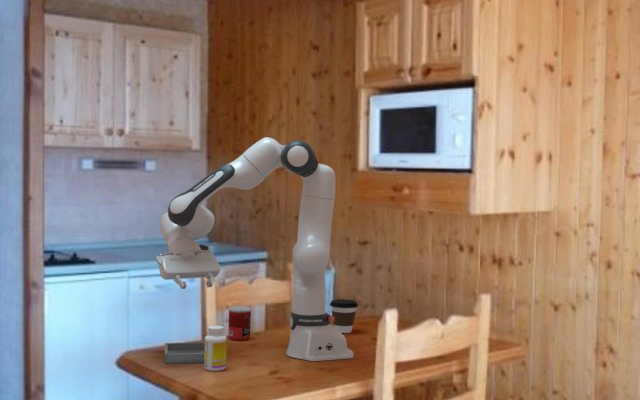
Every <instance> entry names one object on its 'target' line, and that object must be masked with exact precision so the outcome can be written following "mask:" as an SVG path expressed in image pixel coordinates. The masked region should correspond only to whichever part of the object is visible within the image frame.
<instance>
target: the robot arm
mask: <svg viewBox="0 0 640 400" xmlns="http://www.w3.org/2000/svg"><path fill="white" fill-rule="evenodd" d="M278 168H282V169H285V170H286V171H287V172H289V173H291V174H294V175H298V176H300V178H301V179H302V191H301V198H300V207H299V213H298V223H297V224H298V227H297V229H298V230H297V241H296V243H295V244H294V246H293V248H292V306H291V307H292V309H291V312H290V323H289V324H290V326H289V327H290V336H289V342H288V346H287V350H286V351H285V354H286V356H289V357H291V358H293V359H294V358H296V359H299V360H306V361H310V362H318V361H319V362H320V361H332V360H345V359H353V358H354V356H355V355H354V354H355V353H354V351H353V350H352V349H350V348H348V343H347V338H346V337H345V334H342V333H341V332H339V331H338V330H337V329H336V328H335V327H334V325H333V324H331V323H333V322H334V317H333V316H332V314H328V313H327V312H326V303H327V301H326V298H327V296H326V295H327V287H326V267H327V266H328V264H329V263H330V253H331V252H330V251H331V238H332V221H333V214H334V208H335V207H334V206H335V205H334V204H335V198H336V197H335V196H336V173H335V170H334V169H333V168H332V167H331V166H329V165H328V164H327V165H326V164H323V163H319V161H318V158H317V156H316V153H315V150H314V149H313V147H312V146H311V145H310V144H309V143H308V142H307V141H304V140H298V139H295V140H291V141H289V142H288V143H287V144H285V145H283V144H281V143H280V142H278V141H277V140H276V139H274V138H272V137H267V136H266V137H263V138H261V139H259V140H258V141H257V142H255V143H253V144H252V145H251V146H249V148H247V149H246V150H245V151H243V153H241V155H240V156H239V157H237V158H236V159H234V160H233V161H231V162H229V163H227V164H222V165H221V166H219V167H217V168H215V169H213V171H211V172H210V173H209V174H208V175H206V176H205V177H203V178H202V179H201V180H199V181H198V182H197V183H196V184H194V185H193V186H192V187H190V188H188V190H186V191H184V192H181V193H179V194H178V195H176V196H174V197H173V199H172V200H171V201H170V202H169V205H168V206H167V212H165V213H164V214H163V215H162V216H161V218H160V224H159V225H160V231H161V235H162V238H163V240H164V242H165V243H166V245H167V250H168V252H167V253H159V254H158V255H156V257H155V260H156V262H157V264H158V268H159V273H160V276H161V277H160V278H161V279H163V280H164V281H165V280H173V281H174V283H175V284H177V286H179V289H180V290H185V289H186V288H187V284H186V281H183V280H185V279H200V278H203V279H204V278H206V282H205V285H206V288H212V287H213V285H214V284H213V278H216V277H218V276H219V274H220V271H221V264H220V263H219V260H218V258H217V257H216V256H215V254H213V253H212V252H211V251H212V248H211V246H210V245H206V244H203V243H198V242H196V241H197V240H199V239H201V238H203V237H205V236H206V235H209V234H210V233H211V231H212V230H213V229H214V227H215V223H216V218H215V215H214V214H213V212H212V211H210V210H209V209H208V208H207V207H205V206H203V205H202V203H204V202H205V201H207V200H209V198H210V197H212V196H213V195H215V193H217V192H218V191H220V190H222V189H226V188H233V189H237V190H238V189H239V190H252V189H254V188H256V187H257V186H259V185H260V184H261V183H262V182H263V181H264V180H265V179H266V178H267V177H268V176H269V175H270V174H271V173H272V172H274V171H275V170H276V169H278ZM182 279H183V280H182Z"/></svg>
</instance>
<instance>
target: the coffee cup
mask: <svg viewBox="0 0 640 400" xmlns="http://www.w3.org/2000/svg"><path fill="white" fill-rule="evenodd" d="M329 306H330V307H331V315H332V316H333V317H334V322H332V325H333V327H335V328H336V329H337V330H338V331H339V332H341V333H350V332H351V333H352V330H353V326H354V324H355V317H356V312H357V308H358V307H359V304H358V302H357V301H356V300H353V299H345V298H344V299H342V298H339V299H332V300H331V301H330V303H329ZM351 333H350V334H351Z"/></svg>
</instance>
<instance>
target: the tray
mask: <svg viewBox="0 0 640 400" xmlns="http://www.w3.org/2000/svg"><path fill="white" fill-rule="evenodd" d="M204 351H205V341H204V342H165V343H164V363H165V365H179V364H181V365H182V364H183V365H185V364H186V365H187V364H204Z"/></svg>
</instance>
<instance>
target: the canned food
mask: <svg viewBox="0 0 640 400" xmlns="http://www.w3.org/2000/svg"><path fill="white" fill-rule="evenodd" d="M251 311H252V309H251V308H250V307H247V306H246V307H245V306H233V307H229V308H228V330H227V331H228V340H230V341H234V342H235V341H236V342H245V341H249V340H250V338H251V323H252V322H251V320H252V312H251Z"/></svg>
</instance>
